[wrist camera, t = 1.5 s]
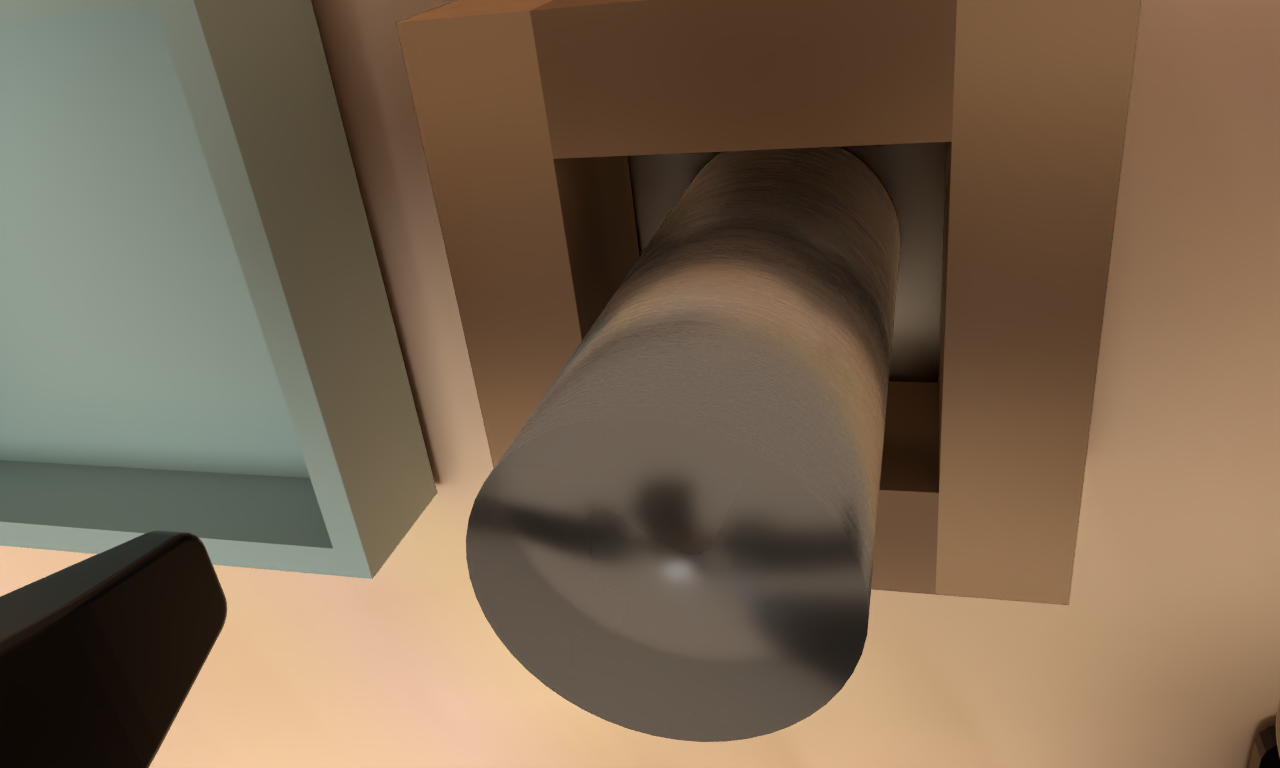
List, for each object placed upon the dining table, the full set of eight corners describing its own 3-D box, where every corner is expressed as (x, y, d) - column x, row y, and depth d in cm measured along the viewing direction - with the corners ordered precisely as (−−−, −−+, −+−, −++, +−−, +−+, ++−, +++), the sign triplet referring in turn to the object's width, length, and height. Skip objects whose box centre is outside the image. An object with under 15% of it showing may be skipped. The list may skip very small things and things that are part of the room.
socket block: (1046, 478, 15) (1068, 605, 13) (574, 456, 18) (513, 560, 15) (1100, -72, 12) (1147, -46, 9) (493, -12, 14) (395, 23, 11)
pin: (899, 347, 15) (869, 764, 8) (686, 343, 16) (505, 717, 9) (901, 128, 13) (868, 425, 7) (664, 138, 14) (428, 410, 8)
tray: (437, 492, 19) (372, 578, 17) (-34, 463, 22) (-139, 532, 20) (294, -67, 14) (178, -48, 12) (-275, 3, 18) (-445, 27, 15)
